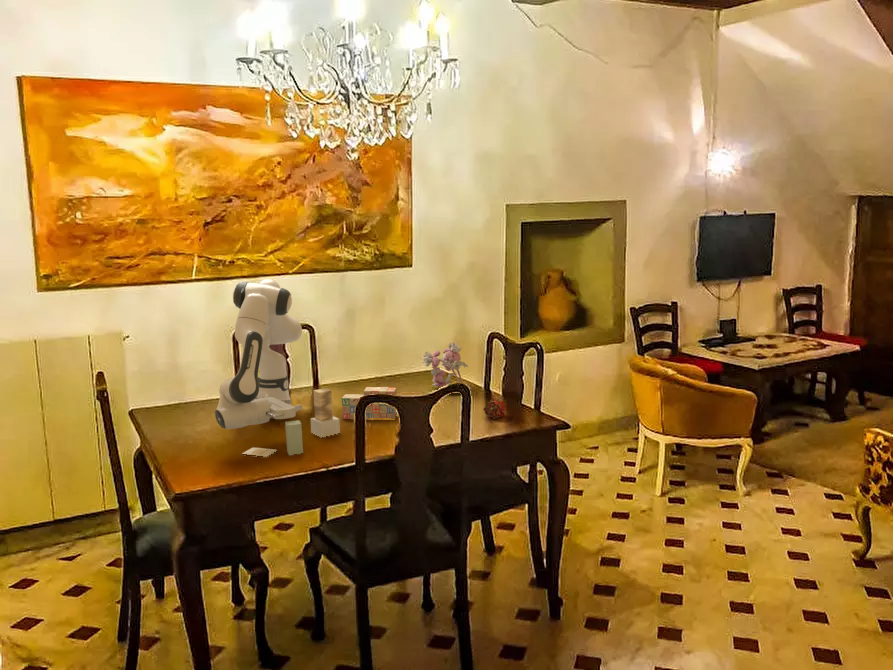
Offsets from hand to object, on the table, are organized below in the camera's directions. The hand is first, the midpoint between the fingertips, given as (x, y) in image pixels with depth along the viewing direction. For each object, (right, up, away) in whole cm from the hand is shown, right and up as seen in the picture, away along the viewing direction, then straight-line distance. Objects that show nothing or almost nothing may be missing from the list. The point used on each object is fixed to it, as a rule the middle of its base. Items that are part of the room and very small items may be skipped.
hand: (295, 404), depth 318 cm
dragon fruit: (+75, -7, +24) cm, 79 cm away
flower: (+55, 0, +66) cm, 86 cm away
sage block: (+2, -16, -12) cm, 20 cm away
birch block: (+9, -6, +8) cm, 14 cm away
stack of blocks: (+25, -8, +28) cm, 38 cm away
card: (-11, -17, -12) cm, 23 cm away
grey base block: (+10, -12, +9) cm, 18 cm away
